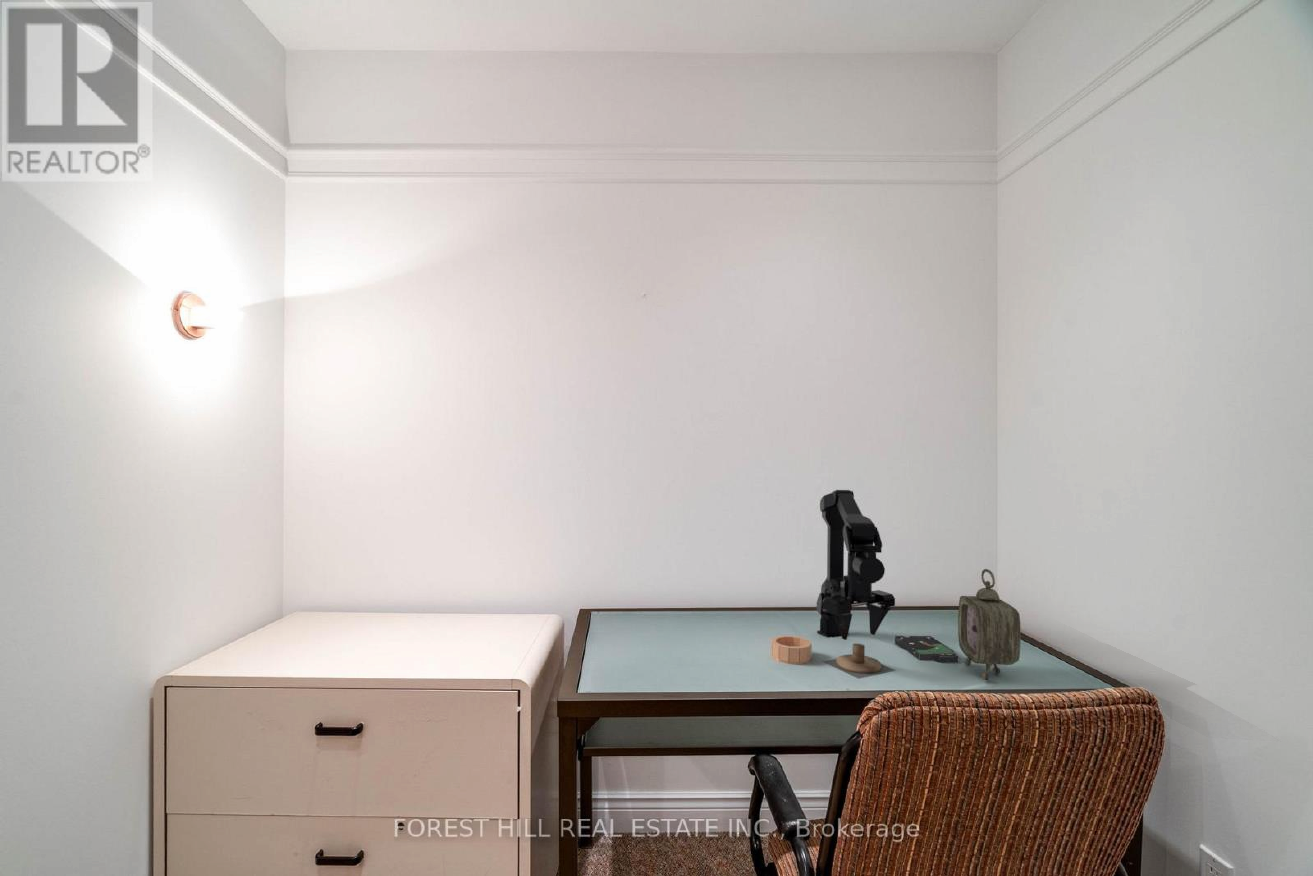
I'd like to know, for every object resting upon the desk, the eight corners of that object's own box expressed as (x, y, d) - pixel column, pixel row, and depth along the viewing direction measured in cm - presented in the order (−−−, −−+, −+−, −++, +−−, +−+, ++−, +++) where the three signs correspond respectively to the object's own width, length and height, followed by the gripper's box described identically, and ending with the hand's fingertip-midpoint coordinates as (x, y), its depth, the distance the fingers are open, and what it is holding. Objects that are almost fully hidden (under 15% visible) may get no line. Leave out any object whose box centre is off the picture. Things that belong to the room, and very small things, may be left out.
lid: (858, 656, 163) (858, 636, 163) (890, 669, 154) (890, 648, 154) (827, 662, 158) (827, 642, 158) (858, 676, 149) (858, 655, 149)
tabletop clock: (957, 662, 161) (958, 563, 161) (995, 664, 160) (996, 564, 160) (980, 684, 147) (982, 575, 147) (1022, 686, 146) (1023, 577, 146)
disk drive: (893, 646, 175) (919, 664, 161) (893, 635, 175) (919, 653, 161) (930, 645, 176) (959, 664, 161) (930, 635, 176) (959, 653, 161)
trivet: (858, 657, 164) (858, 654, 164) (895, 672, 153) (895, 670, 153) (822, 664, 159) (822, 661, 159) (858, 680, 148) (858, 678, 148)
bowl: (793, 650, 168) (793, 633, 168) (819, 662, 160) (819, 644, 160) (763, 656, 164) (763, 638, 164) (787, 668, 155) (788, 650, 155)
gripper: (863, 563, 167) (862, 623, 168) (807, 569, 159) (806, 632, 159) (897, 572, 158) (896, 635, 158) (839, 579, 149) (838, 646, 149)
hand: (858, 637), depth 156 cm, fingers open, 9 cm apart
